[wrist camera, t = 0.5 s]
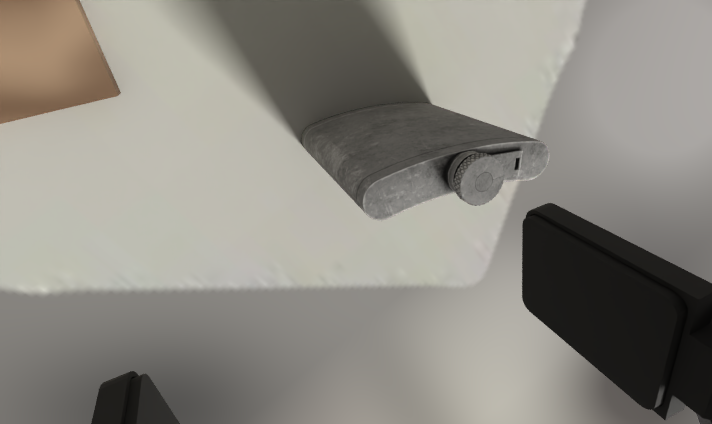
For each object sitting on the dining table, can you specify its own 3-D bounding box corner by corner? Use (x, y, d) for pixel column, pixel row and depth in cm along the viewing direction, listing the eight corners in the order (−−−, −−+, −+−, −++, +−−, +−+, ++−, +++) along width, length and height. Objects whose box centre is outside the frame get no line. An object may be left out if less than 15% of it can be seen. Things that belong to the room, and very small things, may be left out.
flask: (297, 118, 38) (374, 184, 23) (435, 92, 42) (579, 133, 26) (303, 155, 39) (379, 241, 24) (435, 127, 43) (571, 186, 28)
